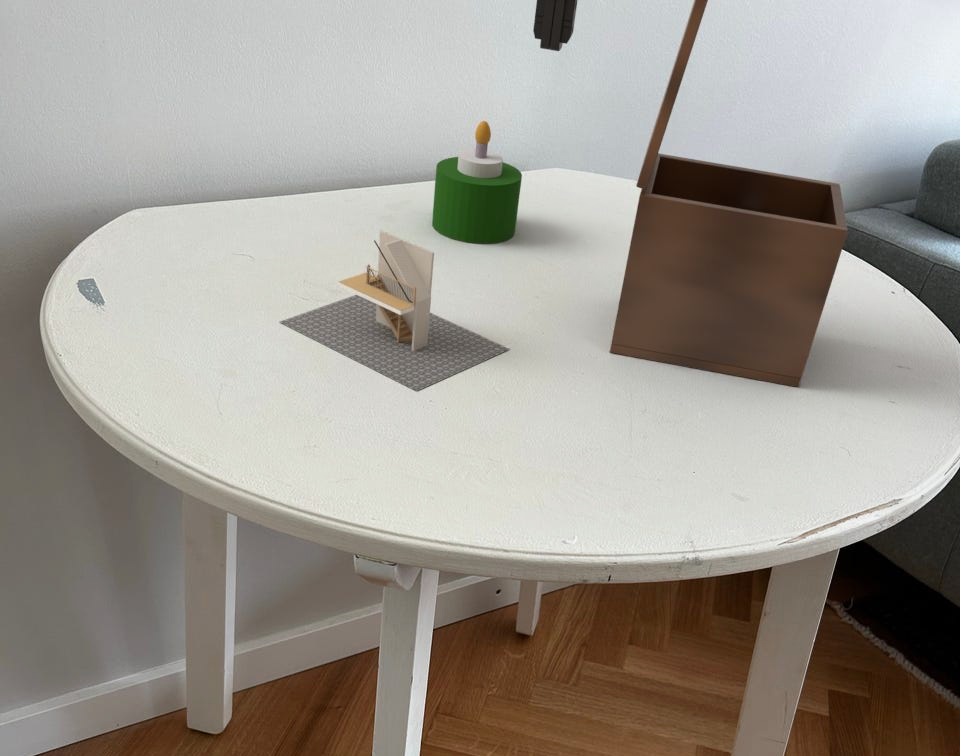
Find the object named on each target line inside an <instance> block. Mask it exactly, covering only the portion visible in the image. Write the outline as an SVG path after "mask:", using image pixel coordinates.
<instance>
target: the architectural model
mask: <svg viewBox="0 0 960 756" xmlns="http://www.w3.org/2000/svg"><path fill="white" fill-rule="evenodd" d="M373 242H374V243H375V245H376V247H377V249H378V265H377V270H376V269H374V268H371V264H369V263H368V264H366V265H367V266H365V268H366V272H362V273H360V274H357V275H354V276H351V277H348V278H345V279H342V280H339V281H337V282H338V287H339V288H341V289H344V290H345V291H348V292H350V293H352V294H353V295H351V296H349V297H346V298H343V299H339V300H337V301H334V302H331V303H329V304H326V305H322V306H320V307H317V308H314V309H312V310H309V311H306V312H303V313H300V314H297V315H294V316H291V317H288V318H286V319H283V320H280V321H279V323H280V324H282V325H284V326H286V327H289V328H290V329H292V330H294V331H296V332H299V333H300V334H302V335H304V336H306V337H307V338H309V339H312V340H314V341H316V342H318V343H320V344H322V345H324V346H326V347H327V348H328V347H329V348H330V349H331V350H334V351H336V352H338V353H340V354H342V355H344V356H346V357H348V358H350V359H352V360H354V361H355V362H358V363H360V364H362V365H363V366H366V367H368V368H369V369H372V370H374V371H375V372H378V373H380V374H382V375H383V376H385V377H388V378H390V379H392V380H394V381H395V382H398V383H399V384H401V385H404V386H406V387H408V388H410V389H412V390H413V391H415V392H418V391H421V390H423V389H424V388H427V387H429V386H431V385H434V384H436V383H438V382H441V381H442V380H444V379H447V378H449V377H451V376H453V375H456V374H458V373H459V372H460V373H461V372H462V371H464V370H467V369H469V368H472V367H473V366H475V365H478V364H481V363H482V362H484V361H486V360H490V359H491V358H493V357H495V356H497V355H500V354H502V353H504V352H507V351H509V350H510V348H509V347H506V346H505V345H502V344H500V343H498V342H495V341H493V340H491V339H489V338H487V337H484V336H482V335H480V334H478V333H476V332H474V331H472V330H469V329H468V328H465V327H462V326H461V325H458V324H456V323H454V322H451V321H449V320H447V319H445V318H443V317H441V316H439V315H436V314H434V313H432V312H431V304H432V303H431V301H432V286H433V273H434V272H433V271H434V260H435V259H434V258H435V252H434V251H431V250H429V249H427V248H424V247H422V246H419V245H417V244H415V243H412V242H410V241H408V240H405V239H404V238H401V237H399V236H396V235H394V234H391V233H389V232H387V231H385V230H383V229H382V230H380V231H379V241H378V242H379V243H377V241H376V240H375V239H374V240H373Z"/></svg>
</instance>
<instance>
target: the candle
mask: <svg viewBox="0 0 960 756" xmlns="http://www.w3.org/2000/svg"><path fill="white" fill-rule="evenodd" d="M491 137H492V132H491V127H490V124H489V122H487V121H486V120H482V121H481V122H480V123H478V124H477V127H476V129H475V133H474V138H475V141H476V143H475V149H464V150H461V151H459V152H458V156H455V157H449V158H448V157H447V158H444V159H441V160H440V161H438V162H437V164H436V166H435V167H436V168H435V179H434V180H435V181H434V193H433V207H432V208H433V209H432V218H431V219H432V221H431V225H432V228H433V229H434V230H435V231H436V232H437V233H439V234H440V235H442V236H443V237H447V238H449V239H451V240H456V241H459V242H463V243H464V242H465V243H471V244H497V243H502V242H505V241H509V240H510V239H512V238H513V237H515V234H516V228H517V227H516V226H517V218H518V211H519V203H520V196H521V194H520V193H521V187H522V179H523V175H522V172H521V171H520V170H519V169H518V168H516V167H515V166H513V165H511V164H510V163H507V162H504V158H503V157H502V156H501V155H500V154H499V153H496V152H494V151H493V152H492V151H489V150H488V147H489V142H490V141H491Z"/></svg>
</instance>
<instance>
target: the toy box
mask: <svg viewBox="0 0 960 756" xmlns="http://www.w3.org/2000/svg"><path fill="white" fill-rule="evenodd" d="M640 189H641V190H640V193H639V197H638V202H637V208H636V213H635V218H634V223H633V229H632V234H631V238H630V243H629V249H628V254H627V260H626V265H625V270H624V275H623V281H622V286H621V290H620V295H619V301H618V307H617V311H616V312H617V313H616V316H615V323H614V328H613V333H612V338H611V342H610V343H611V344H610V348H609V353H611V354H616V355H623V356H627V357H632V358H639V359H643V360H648V361H649V360H650V361H655V362H661V363H665V364H670V365H675V366H682V367H687V368H692V369H697V370H702V371H707V372H708V371H709V372H714V373H719V374H724V375H725V374H726V375H729V376H736V377H740V378H745V379H746V378H747V379H752V380H757V381H763V382H769V383H773V384H777V385H778V384H779V385H784V386H791V387H795V388H799V387H800V384H801V381H802V378H803V374H804V372H805V369H806V365H807V362H808V359H809V356H810V353H811V350H812V346H813V343H814V341H815V336H816V333H817V331H818V327H819V323H820V321H821V318H822V315H823V311H824V308H825V305H826V302H827V298H828V295H829V292H830V289H831V285H832V284H833V279H834V276H835V273H836V270H837V266H838V264H839V261H840V257H841V254H842V251H843V247H844V244H845V241H846V239H847V235H848V232H849V231H848V224H847V218H846V212H845V208H844V207H845V206H844V200H843V196H842V190H841V184H840V183H837V182H832V181H825V180H819V179H815V178H808V177H801V176H795V175H789V174H784V173H776V172H772V171H765V170H761V169H760V170H759V169H753V168H748V167H741V166H735V165H730V164H723V163H718V162H712V161H706V160H700V159H694V158H688V157H683V156H678V155H677V156H676V155H670V154H664V153H659V152H658V155H657V158H656V161H655V164H654V167H653V170H652V174H651V177H650V180H649V183H648V186H647V189H646V190H645V189H642V188H640Z"/></svg>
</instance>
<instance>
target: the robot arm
mask: <svg viewBox="0 0 960 756" xmlns="http://www.w3.org/2000/svg"><path fill="white" fill-rule="evenodd" d="M577 7H578V0H536V5H535V13H534V20H533V21H534V23H533V30H532V31H533V36H534V39H536V40H540V42H539V43H540V45H539V49H543V50H547V51H549V50H550V51H553V52H560V51H561V49H562V48H563V44H566V45H567V44H568V43H569V41H570V40H571V38H572V36H573V34H574V28H575V23H576V14H577Z"/></svg>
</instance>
